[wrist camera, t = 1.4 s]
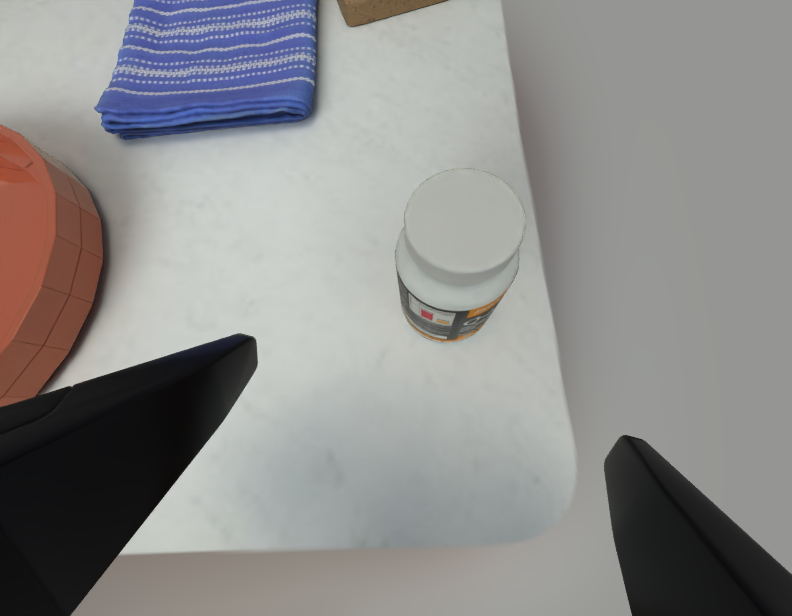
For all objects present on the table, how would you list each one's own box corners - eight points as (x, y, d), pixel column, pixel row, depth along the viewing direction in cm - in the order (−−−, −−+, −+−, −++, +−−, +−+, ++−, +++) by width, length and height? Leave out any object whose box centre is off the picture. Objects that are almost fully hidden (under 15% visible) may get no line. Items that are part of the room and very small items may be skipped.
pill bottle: (473, 357, 21) (517, 310, 12) (388, 325, 22) (367, 258, 13) (500, 278, 23) (558, 179, 13) (419, 251, 24) (420, 141, 14)
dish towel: (111, 148, 28) (79, 120, 26) (156, -38, 35) (135, -75, 33) (318, 130, 28) (307, 99, 25) (321, -56, 35) (313, -96, 32)
